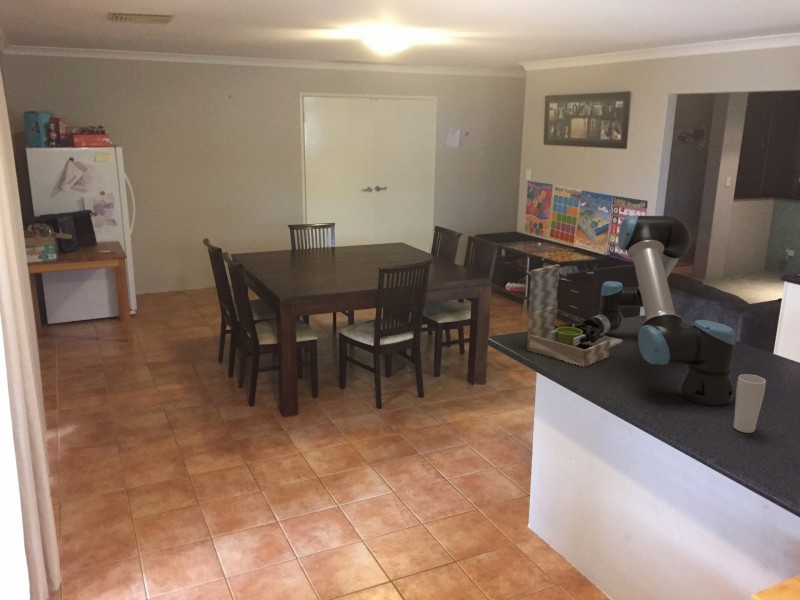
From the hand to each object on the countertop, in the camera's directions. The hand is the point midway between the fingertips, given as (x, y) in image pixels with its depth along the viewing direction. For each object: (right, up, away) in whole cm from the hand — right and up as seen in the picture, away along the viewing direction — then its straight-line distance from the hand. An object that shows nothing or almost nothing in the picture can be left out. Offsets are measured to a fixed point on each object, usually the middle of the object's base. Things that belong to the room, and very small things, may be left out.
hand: (562, 338), depth 235 cm
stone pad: (+18, -2, +18) cm, 25 cm away
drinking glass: (+37, -22, -54) cm, 69 cm away
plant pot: (+3, -6, +5) cm, 8 cm away
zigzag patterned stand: (+3, -6, +5) cm, 8 cm away
